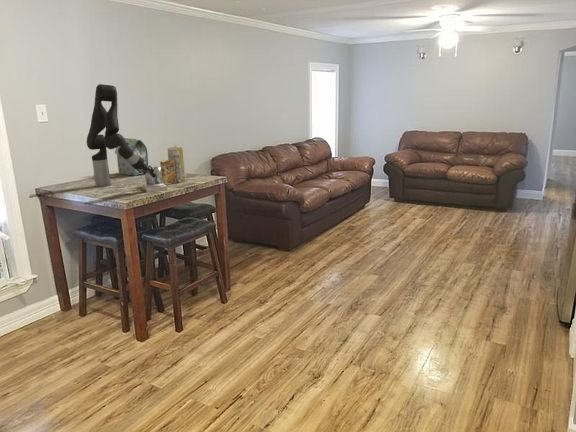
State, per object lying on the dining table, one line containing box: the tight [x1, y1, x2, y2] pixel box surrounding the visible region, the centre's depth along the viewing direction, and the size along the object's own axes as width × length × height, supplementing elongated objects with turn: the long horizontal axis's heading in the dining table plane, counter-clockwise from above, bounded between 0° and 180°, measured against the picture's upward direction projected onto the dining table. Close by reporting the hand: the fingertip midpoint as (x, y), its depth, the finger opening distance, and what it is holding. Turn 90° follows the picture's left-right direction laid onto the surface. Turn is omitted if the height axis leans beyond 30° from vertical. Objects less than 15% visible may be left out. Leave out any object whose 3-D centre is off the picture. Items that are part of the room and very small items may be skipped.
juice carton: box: [167, 145, 186, 183], centre depth 300 cm, size 9×8×24 cm
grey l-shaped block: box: [141, 172, 168, 193], centre depth 278 cm, size 12×15×11 cm
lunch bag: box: [114, 137, 149, 176], centre depth 335 cm, size 23×16×27 cm
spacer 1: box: [145, 166, 154, 184], centre depth 273 cm, size 4×4×10 cm
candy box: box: [159, 159, 178, 186], centre depth 293 cm, size 9×4×15 cm, turn 146°
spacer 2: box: [152, 166, 162, 184], centre depth 278 cm, size 4×4×10 cm
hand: (152, 176), depth 275 cm, fingers closed on spacer 1, 4 cm apart
